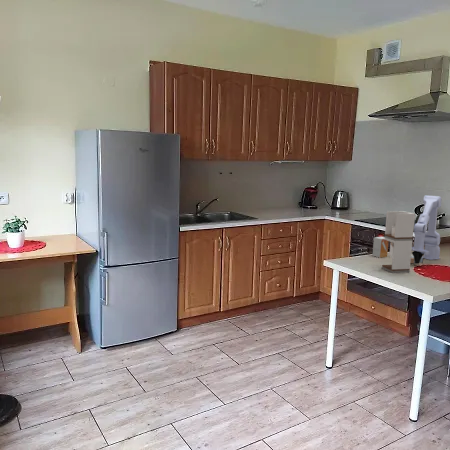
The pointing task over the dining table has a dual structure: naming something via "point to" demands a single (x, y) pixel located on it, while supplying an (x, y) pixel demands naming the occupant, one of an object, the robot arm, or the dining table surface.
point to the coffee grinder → (399, 240)
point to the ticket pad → (414, 260)
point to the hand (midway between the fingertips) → (416, 263)
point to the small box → (380, 247)
